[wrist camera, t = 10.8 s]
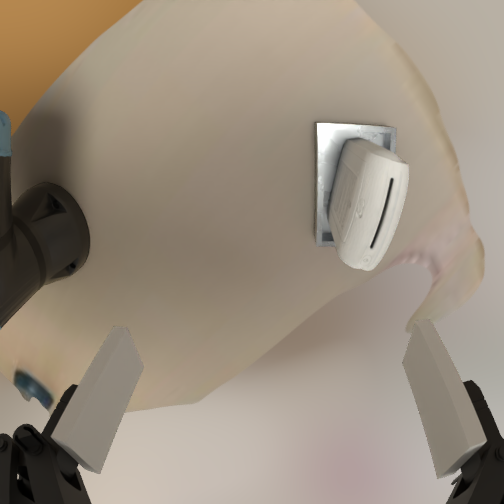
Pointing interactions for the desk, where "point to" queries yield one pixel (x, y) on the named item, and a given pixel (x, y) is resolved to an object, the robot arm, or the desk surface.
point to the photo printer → (366, 202)
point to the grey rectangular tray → (327, 160)
